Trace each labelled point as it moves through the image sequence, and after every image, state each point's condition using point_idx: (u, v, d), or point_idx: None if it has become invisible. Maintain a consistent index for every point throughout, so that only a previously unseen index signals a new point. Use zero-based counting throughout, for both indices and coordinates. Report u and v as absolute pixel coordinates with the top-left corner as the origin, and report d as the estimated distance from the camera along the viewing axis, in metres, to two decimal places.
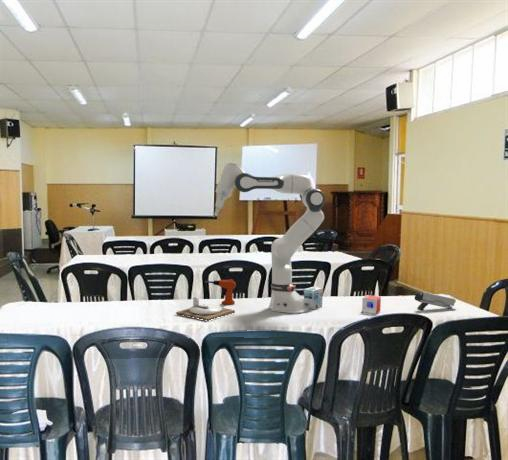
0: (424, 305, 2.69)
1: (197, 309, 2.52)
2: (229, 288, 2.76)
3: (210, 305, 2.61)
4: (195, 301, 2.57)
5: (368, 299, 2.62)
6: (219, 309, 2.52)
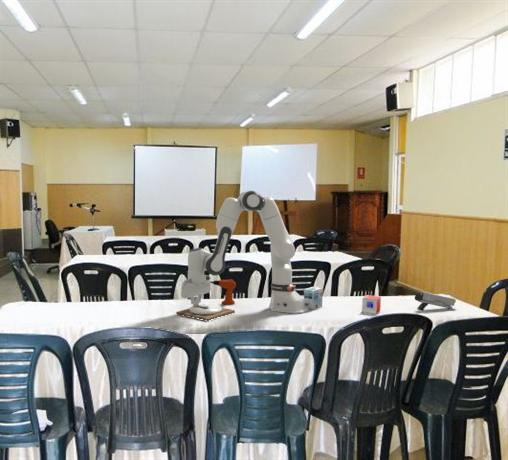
0: (424, 305, 2.69)
1: (197, 309, 2.52)
2: (229, 288, 2.76)
3: (210, 305, 2.61)
4: (195, 301, 2.57)
5: (368, 299, 2.62)
6: (219, 309, 2.52)
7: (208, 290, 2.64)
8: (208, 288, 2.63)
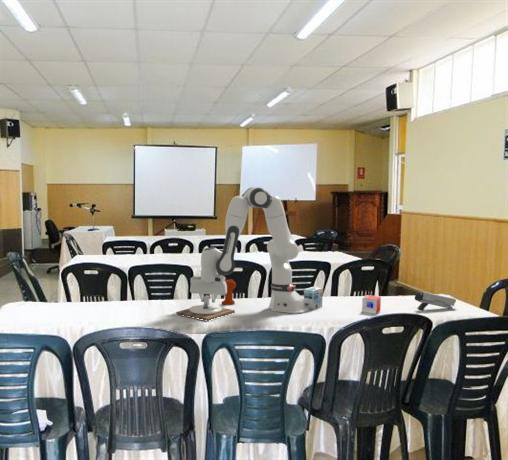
0: (424, 305, 2.69)
1: (197, 307, 2.56)
2: (229, 288, 2.76)
3: (218, 307, 2.57)
4: (204, 300, 2.61)
5: (368, 299, 2.62)
6: (209, 311, 2.47)
7: (222, 292, 2.58)
8: (221, 290, 2.58)
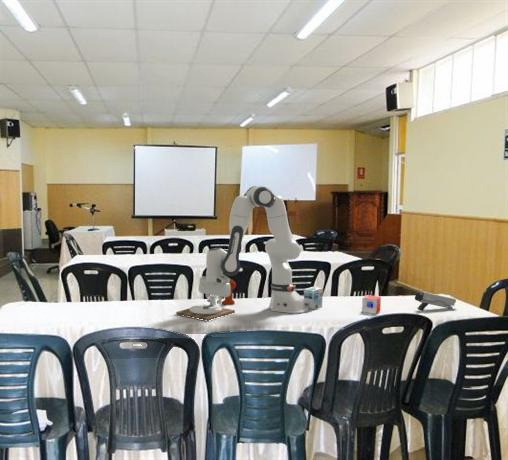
0: (424, 305, 2.69)
1: (200, 306, 2.58)
2: None
3: (218, 308, 2.54)
4: (210, 300, 2.61)
5: (368, 299, 2.62)
6: (201, 311, 2.47)
7: (223, 294, 2.54)
8: (223, 292, 2.54)
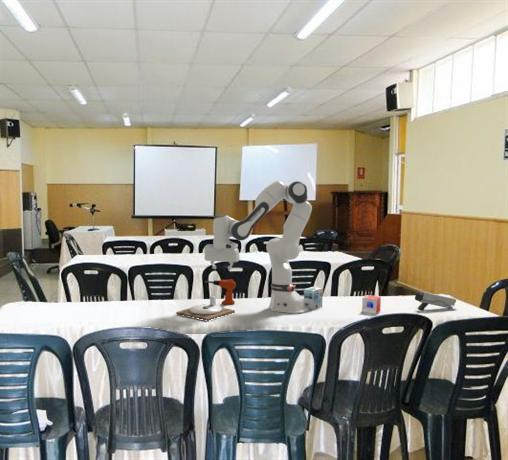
0: (424, 305, 2.69)
1: (200, 306, 2.58)
2: (229, 288, 2.76)
3: (218, 308, 2.54)
4: (210, 300, 2.61)
5: (368, 299, 2.62)
6: (201, 311, 2.47)
7: (233, 259, 2.59)
8: (233, 257, 2.60)
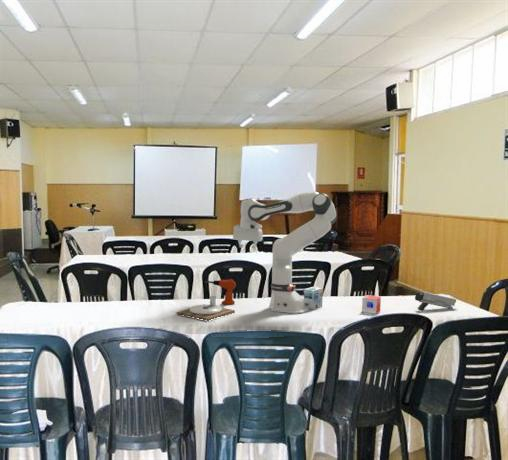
0: (424, 305, 2.69)
1: (200, 306, 2.58)
2: (229, 288, 2.76)
3: (218, 308, 2.54)
4: (210, 300, 2.61)
5: (368, 299, 2.62)
6: (201, 311, 2.47)
7: (256, 239, 2.84)
8: (256, 237, 2.85)
